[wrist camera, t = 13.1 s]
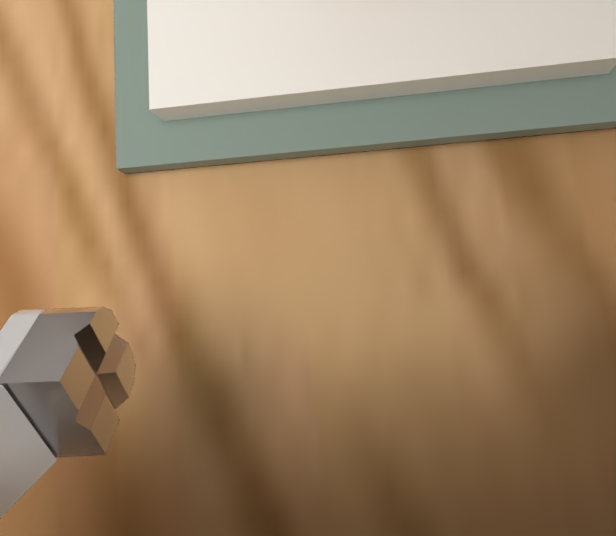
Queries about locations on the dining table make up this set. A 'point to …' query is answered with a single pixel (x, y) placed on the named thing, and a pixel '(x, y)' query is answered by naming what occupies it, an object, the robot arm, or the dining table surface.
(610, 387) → the dining table surface
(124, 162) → the mat
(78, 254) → the dining table surface
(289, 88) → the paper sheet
